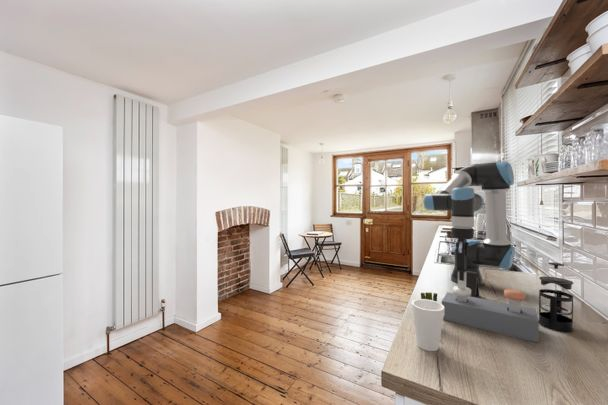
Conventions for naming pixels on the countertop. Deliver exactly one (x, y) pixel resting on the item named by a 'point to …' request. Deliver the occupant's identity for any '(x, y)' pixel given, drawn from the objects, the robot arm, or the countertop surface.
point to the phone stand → (472, 283)
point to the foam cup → (427, 323)
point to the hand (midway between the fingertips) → (461, 288)
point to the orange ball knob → (514, 299)
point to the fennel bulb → (429, 296)
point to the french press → (556, 304)
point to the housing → (492, 317)
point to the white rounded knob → (462, 293)
